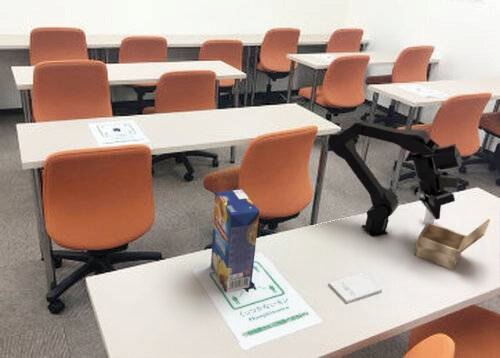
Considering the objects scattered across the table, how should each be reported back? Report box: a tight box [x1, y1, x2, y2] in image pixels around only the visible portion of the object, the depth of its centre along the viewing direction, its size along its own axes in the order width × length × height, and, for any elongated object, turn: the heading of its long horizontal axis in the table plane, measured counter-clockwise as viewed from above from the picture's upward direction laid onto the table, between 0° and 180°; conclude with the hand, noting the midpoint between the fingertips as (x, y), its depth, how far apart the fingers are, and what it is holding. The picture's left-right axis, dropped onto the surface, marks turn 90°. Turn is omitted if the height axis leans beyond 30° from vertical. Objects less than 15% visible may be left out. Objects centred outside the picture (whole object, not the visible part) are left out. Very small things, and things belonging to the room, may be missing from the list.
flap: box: [460, 218, 491, 253], centre depth 138 cm, size 9×11×1 cm
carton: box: [413, 222, 468, 271], centre depth 145 cm, size 12×12×7 cm
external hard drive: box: [327, 272, 383, 304], centre depth 128 cm, size 2×8×12 cm
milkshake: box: [423, 207, 436, 225], centre depth 162 cm, size 4×5×10 cm
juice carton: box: [210, 188, 260, 293], centre depth 123 cm, size 12×8×24 cm, turn 24°
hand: (437, 218), depth 143 cm, fingers closed
